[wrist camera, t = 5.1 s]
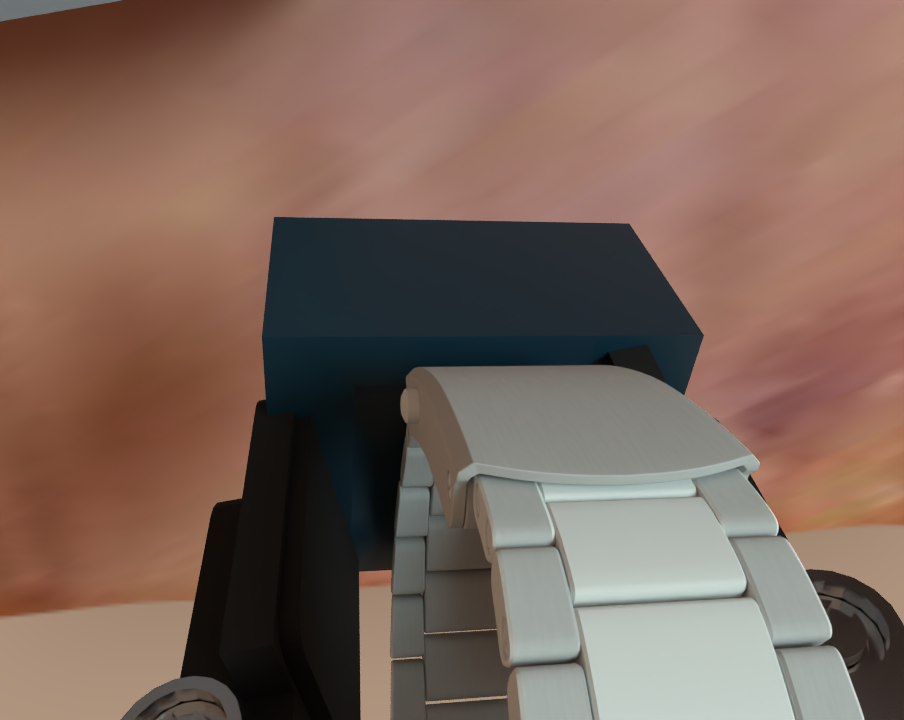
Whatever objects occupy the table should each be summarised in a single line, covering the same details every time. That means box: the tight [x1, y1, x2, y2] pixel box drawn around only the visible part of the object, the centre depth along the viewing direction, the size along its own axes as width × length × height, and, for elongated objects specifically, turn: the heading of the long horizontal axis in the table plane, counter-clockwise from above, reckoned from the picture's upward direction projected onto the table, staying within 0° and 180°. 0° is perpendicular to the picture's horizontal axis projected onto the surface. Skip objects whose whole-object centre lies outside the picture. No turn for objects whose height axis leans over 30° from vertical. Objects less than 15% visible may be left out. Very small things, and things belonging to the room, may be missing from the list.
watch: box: [262, 217, 865, 720], centre depth 9 cm, size 6×8×11 cm
